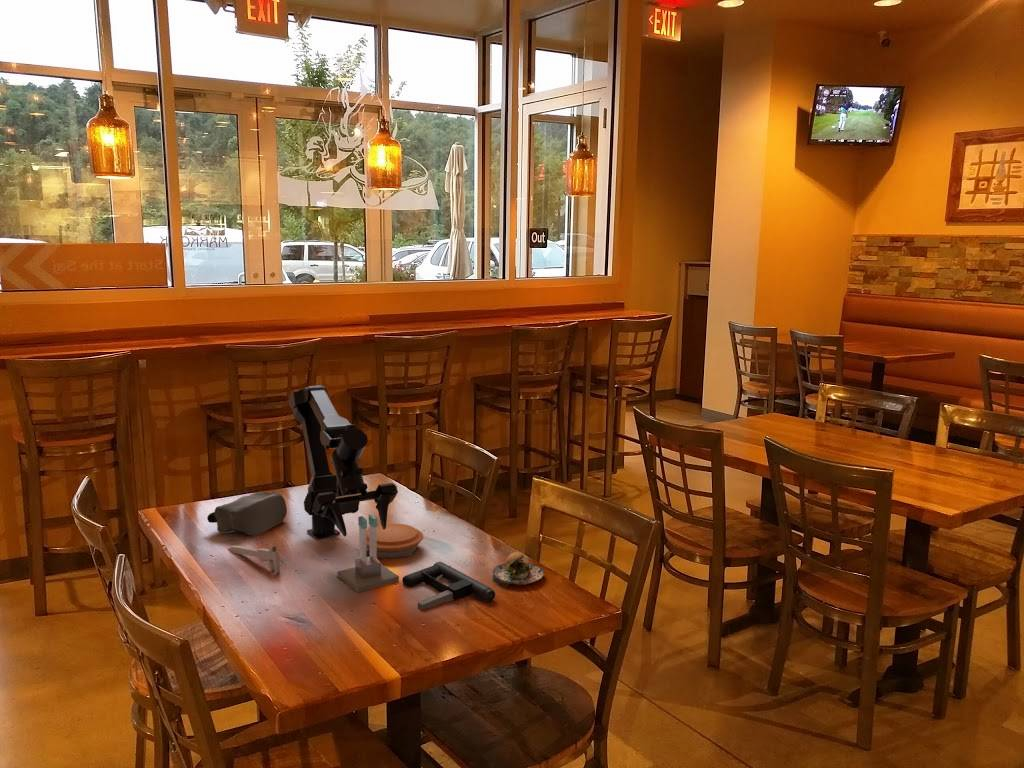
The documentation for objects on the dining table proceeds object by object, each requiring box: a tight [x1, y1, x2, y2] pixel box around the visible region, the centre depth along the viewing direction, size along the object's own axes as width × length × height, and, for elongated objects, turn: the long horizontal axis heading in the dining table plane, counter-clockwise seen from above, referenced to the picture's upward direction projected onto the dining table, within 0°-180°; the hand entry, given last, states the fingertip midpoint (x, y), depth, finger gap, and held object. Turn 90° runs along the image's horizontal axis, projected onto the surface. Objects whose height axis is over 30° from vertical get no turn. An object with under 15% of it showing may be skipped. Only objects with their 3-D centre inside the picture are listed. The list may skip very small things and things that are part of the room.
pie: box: [366, 523, 424, 559], centre depth 199 cm, size 15×16×5 cm
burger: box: [491, 545, 546, 589], centre depth 184 cm, size 12×12×8 cm
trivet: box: [336, 564, 400, 593], centre depth 182 cm, size 10×10×1 cm
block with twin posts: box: [354, 514, 382, 579], centre depth 181 cm, size 4×4×13 cm
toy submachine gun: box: [401, 561, 496, 611], centre depth 176 cm, size 3×20×16 cm
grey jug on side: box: [207, 491, 288, 536], centre depth 212 cm, size 20×12×8 cm, turn 154°
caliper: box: [227, 545, 281, 575], centre depth 190 cm, size 21×1×6 cm, turn 49°
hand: (365, 532), depth 181 cm, fingers open, 9 cm apart
